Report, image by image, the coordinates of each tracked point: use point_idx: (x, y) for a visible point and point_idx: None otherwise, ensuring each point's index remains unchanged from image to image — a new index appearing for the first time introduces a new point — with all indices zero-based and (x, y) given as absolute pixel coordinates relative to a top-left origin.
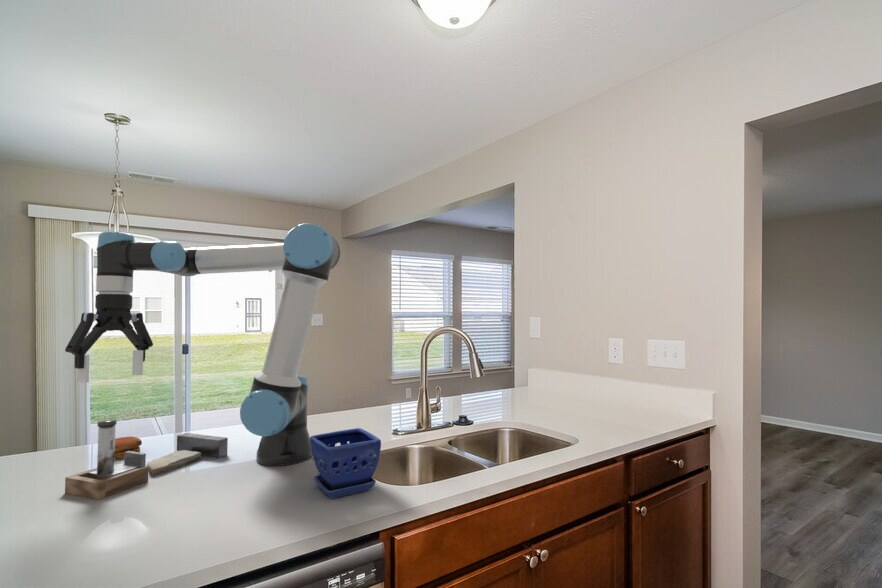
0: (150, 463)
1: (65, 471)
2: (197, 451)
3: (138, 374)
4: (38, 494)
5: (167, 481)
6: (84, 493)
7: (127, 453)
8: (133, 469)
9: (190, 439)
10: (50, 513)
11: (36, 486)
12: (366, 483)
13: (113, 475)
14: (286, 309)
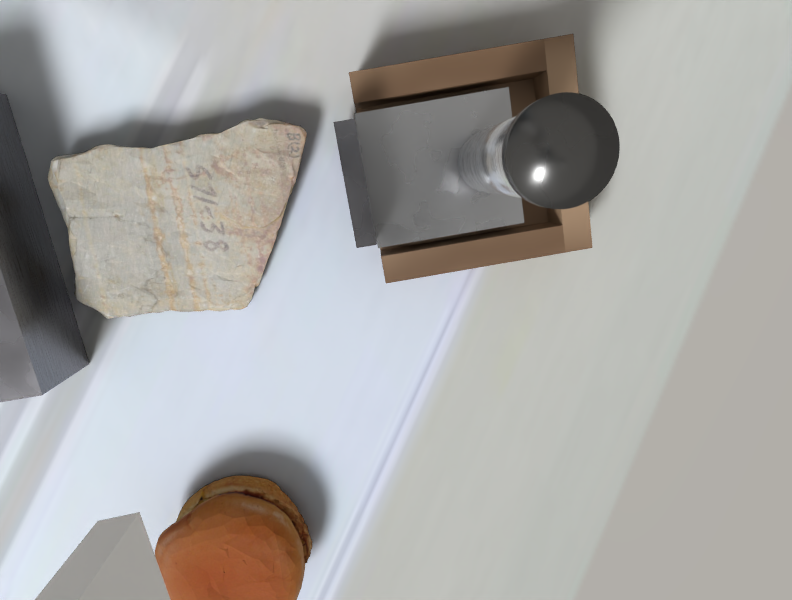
0: (251, 269)
1: (455, 495)
2: (38, 238)
3: (143, 545)
4: (615, 310)
5: (309, 2)
6: None
7: (372, 224)
8: (406, 92)
9: (19, 297)
10: (688, 65)
11: (579, 405)
12: None
13: (489, 90)
14: None
